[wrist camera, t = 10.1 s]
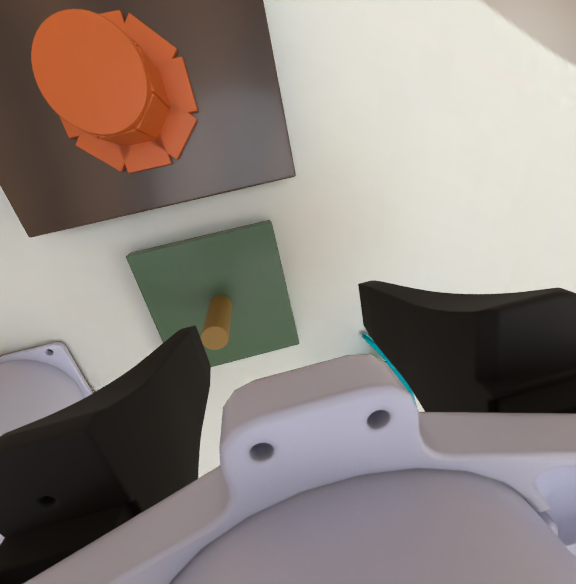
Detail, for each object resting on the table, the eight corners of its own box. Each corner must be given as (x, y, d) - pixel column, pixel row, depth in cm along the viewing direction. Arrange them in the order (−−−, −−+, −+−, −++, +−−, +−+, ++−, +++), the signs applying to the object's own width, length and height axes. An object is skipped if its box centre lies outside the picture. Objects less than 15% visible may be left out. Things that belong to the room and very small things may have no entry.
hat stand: (179, 368, 24) (160, 424, 19) (130, 252, 21) (88, 280, 15) (297, 338, 25) (312, 384, 19) (270, 219, 21) (279, 234, 16)
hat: (91, 182, 17) (48, 183, 13) (26, 32, 14) (-52, -20, 10) (211, 155, 17) (201, 149, 13) (168, 4, 14) (142, -56, 11)
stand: (54, 230, 19) (28, 238, 17) (-54, 21, 15) (-106, -6, 13) (290, 176, 20) (296, 176, 18) (249, -36, 16) (249, -72, 14)
